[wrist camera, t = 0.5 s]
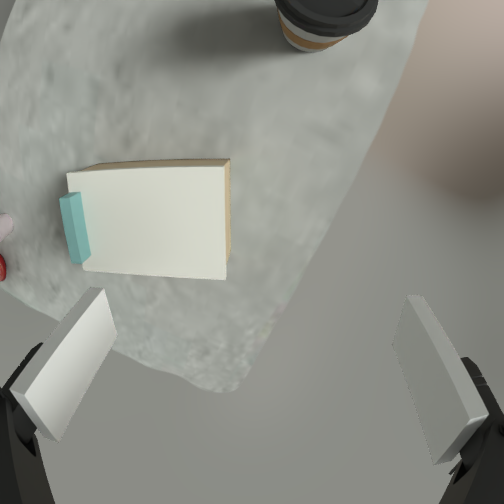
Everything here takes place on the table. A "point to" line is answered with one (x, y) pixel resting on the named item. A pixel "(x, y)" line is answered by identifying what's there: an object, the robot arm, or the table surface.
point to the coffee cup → (322, 21)
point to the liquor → (2, 269)
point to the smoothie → (5, 225)
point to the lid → (148, 220)
